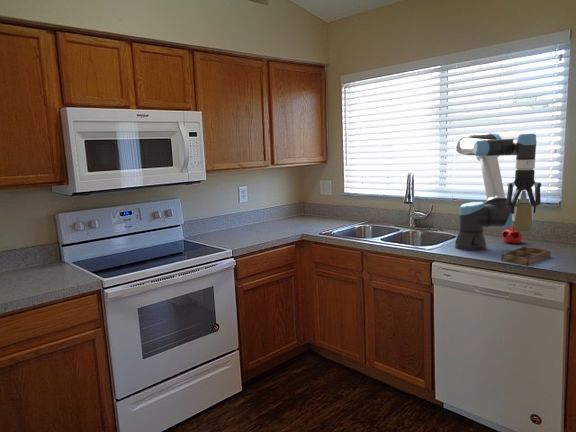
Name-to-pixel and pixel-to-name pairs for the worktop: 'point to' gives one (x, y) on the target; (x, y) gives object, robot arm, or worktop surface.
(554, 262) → the worktop surface
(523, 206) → the squeeze bottle
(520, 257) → the organizer
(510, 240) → the pomegranate
